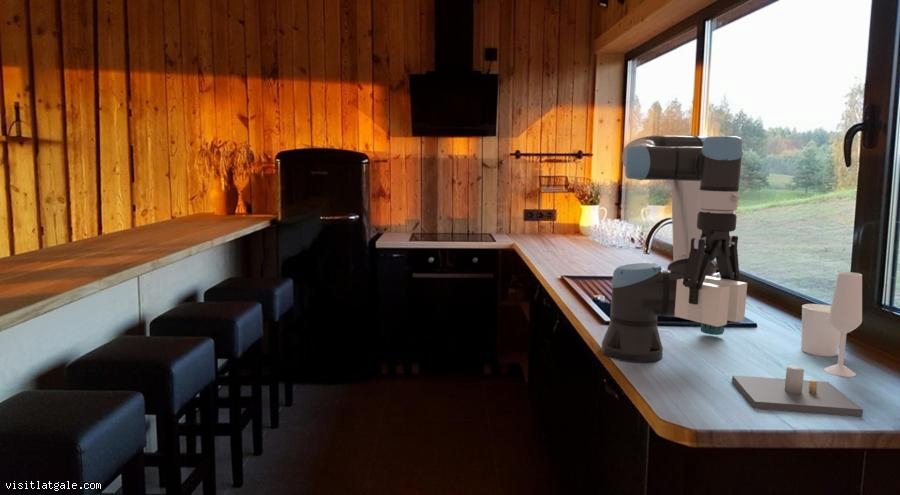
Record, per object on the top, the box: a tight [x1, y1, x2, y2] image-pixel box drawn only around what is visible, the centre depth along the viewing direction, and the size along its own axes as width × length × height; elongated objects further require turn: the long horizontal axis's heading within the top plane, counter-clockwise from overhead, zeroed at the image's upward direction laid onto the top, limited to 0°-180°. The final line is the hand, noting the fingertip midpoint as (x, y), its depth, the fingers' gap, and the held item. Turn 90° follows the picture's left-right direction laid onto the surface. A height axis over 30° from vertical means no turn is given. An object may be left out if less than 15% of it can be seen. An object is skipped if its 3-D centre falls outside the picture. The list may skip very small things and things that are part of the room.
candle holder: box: [800, 303, 841, 358], centre depth 166 cm, size 10×10×12 cm
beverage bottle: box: [700, 267, 726, 336], centre depth 178 cm, size 6×7×20 cm
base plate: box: [731, 365, 864, 418], centre depth 132 cm, size 20×16×6 cm
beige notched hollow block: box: [674, 276, 748, 327], centre depth 133 cm, size 10×10×8 cm
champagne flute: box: [823, 271, 863, 378], centre depth 149 cm, size 7×7×24 cm
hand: (709, 315), depth 134 cm, fingers closed on beige notched hollow block, 10 cm apart
